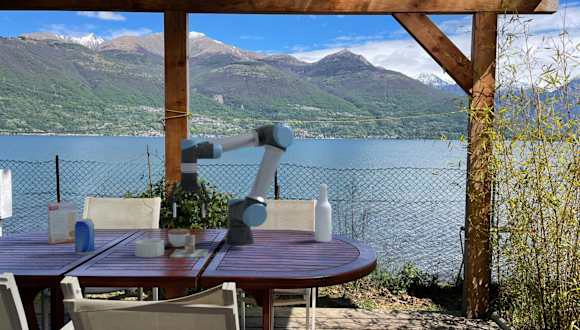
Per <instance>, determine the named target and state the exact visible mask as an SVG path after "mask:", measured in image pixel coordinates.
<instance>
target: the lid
mask: <svg viewBox="0 0 580 330" xmlns="http://www.w3.org/2000/svg"><path fill="white" fill-rule="evenodd" d="M208 251H209V252H210V248H203V249H202V248H200V249H199V248H196V235H195V234H189V235H186V236H185V246H184V248H183V249H182V248H179V249H178V248H176V249H175V250H174V251H173V252H172V253H171V254H170V255H169V256H168V257H169V259H205V258H206V257H205V256H207V255H208V254H209V252H208Z"/></svg>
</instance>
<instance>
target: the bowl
mask: <svg viewBox="0 0 580 330" xmlns="http://www.w3.org/2000/svg"><path fill="white" fill-rule="evenodd" d="M164 254H165V240H164V239H161V238H160V239H159V238H144V239H139V240H136V241H134V256H135V257H137V258H154V257H155V258H156V257H160V256H161V257H162V256H163V255H164Z"/></svg>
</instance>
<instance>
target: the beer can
mask: <svg viewBox="0 0 580 330" xmlns="http://www.w3.org/2000/svg"><path fill="white" fill-rule="evenodd" d="M74 243H75V244H74V247H75V248H74V249H75V250H74V252H75V253H76V255H78V256H87V255H88V254H89V255H92V254H93V253H94V252H95V224H94V222H93V220H92V218H91V219H90V218H82V219H78V220H77V222H76V224H75V242H74Z"/></svg>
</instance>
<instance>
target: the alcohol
mask: <svg viewBox="0 0 580 330" xmlns="http://www.w3.org/2000/svg"><path fill="white" fill-rule="evenodd" d="M327 188H328V184H327V183H326V184H325V183H324V184H323V183H322V184H321V183H320V184H319V191H318V192H319V194H318V201H317V203H316V204H315V206H314V241H316V242H317V243H330V242H331V241H332V205H331V204H330V202H329V201H328V200H329V199H328V189H327Z"/></svg>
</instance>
